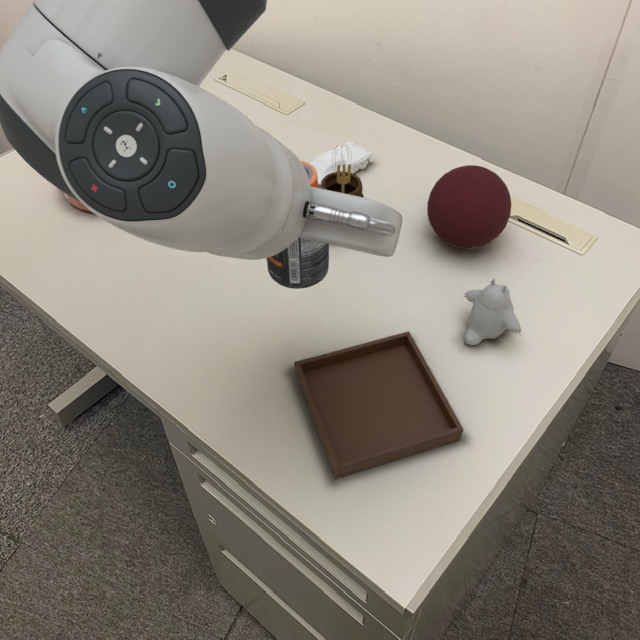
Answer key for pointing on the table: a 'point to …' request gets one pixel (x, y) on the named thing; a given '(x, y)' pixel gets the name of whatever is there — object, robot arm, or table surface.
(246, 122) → the robot arm
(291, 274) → the pill bottle
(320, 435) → the tray
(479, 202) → the decorative ball
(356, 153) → the toy car
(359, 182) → the utensil holder
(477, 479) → the table surface
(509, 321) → the figurine
